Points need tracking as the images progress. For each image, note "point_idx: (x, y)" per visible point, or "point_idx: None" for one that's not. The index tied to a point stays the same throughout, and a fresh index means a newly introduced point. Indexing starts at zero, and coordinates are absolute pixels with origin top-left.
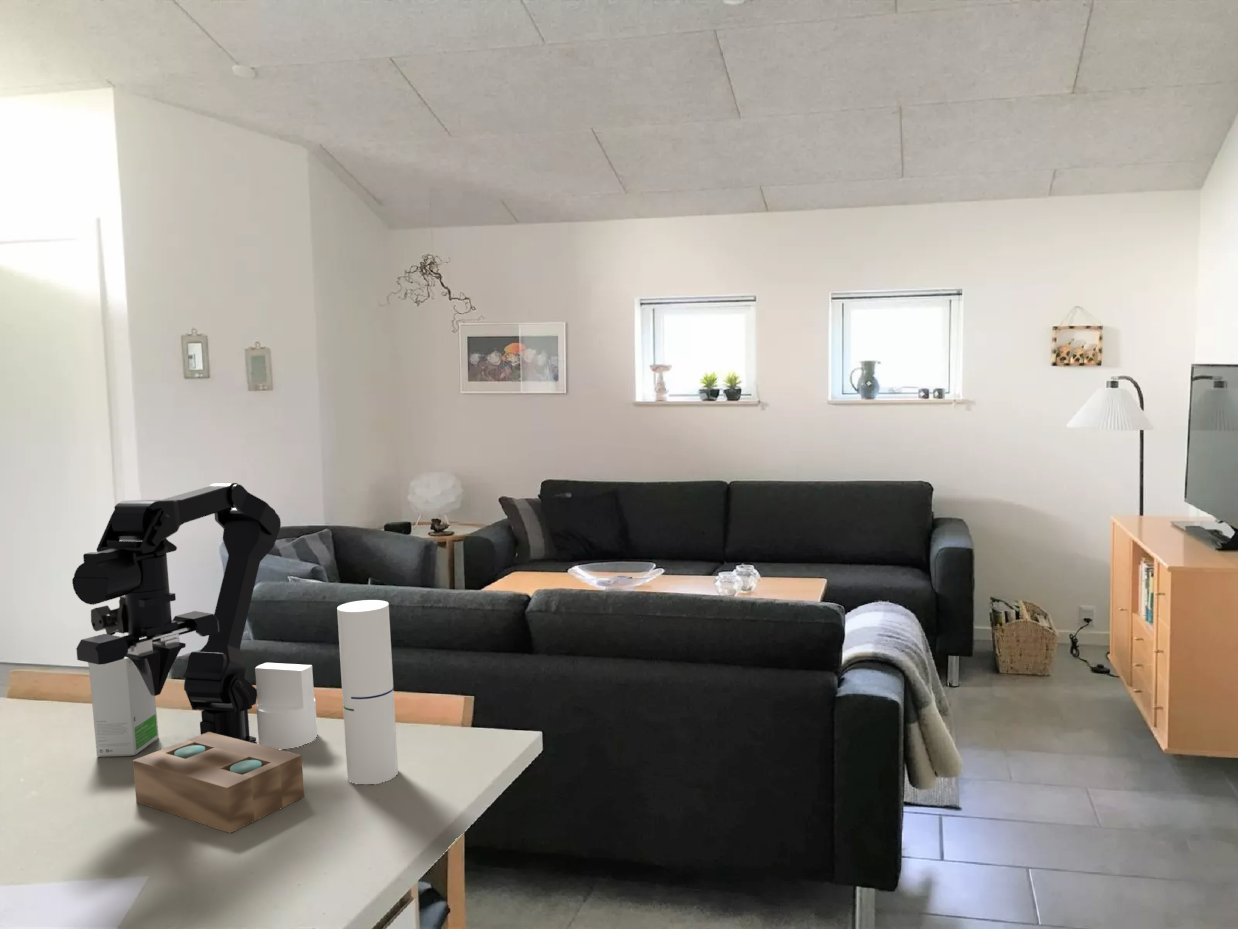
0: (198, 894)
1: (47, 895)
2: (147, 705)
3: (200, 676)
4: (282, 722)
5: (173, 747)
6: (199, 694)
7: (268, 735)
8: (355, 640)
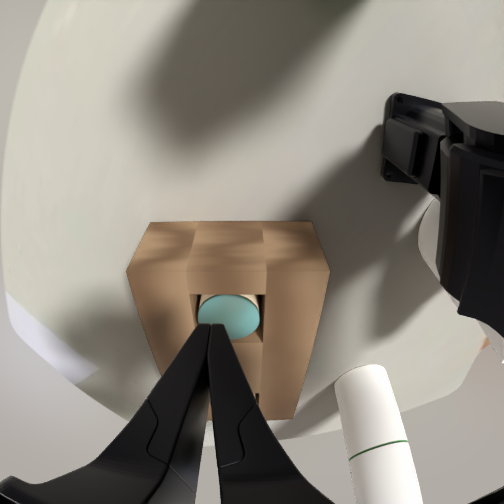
0: (121, 401)
1: (30, 329)
2: None
3: (476, 253)
4: None
5: (219, 284)
6: (442, 204)
7: (430, 248)
8: None
